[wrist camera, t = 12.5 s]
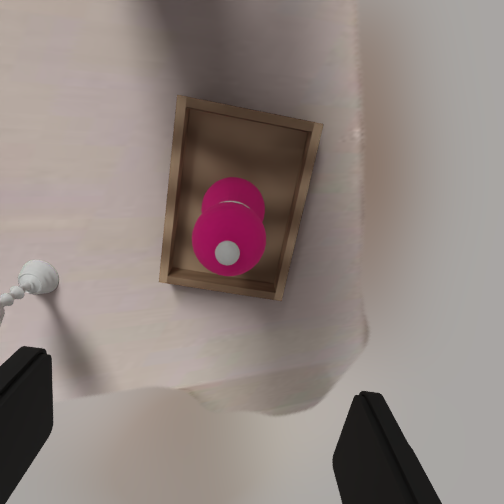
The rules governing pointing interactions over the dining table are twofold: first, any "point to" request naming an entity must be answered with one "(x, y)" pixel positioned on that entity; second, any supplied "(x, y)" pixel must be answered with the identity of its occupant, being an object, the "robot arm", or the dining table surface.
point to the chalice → (31, 283)
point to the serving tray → (242, 166)
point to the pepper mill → (230, 227)
